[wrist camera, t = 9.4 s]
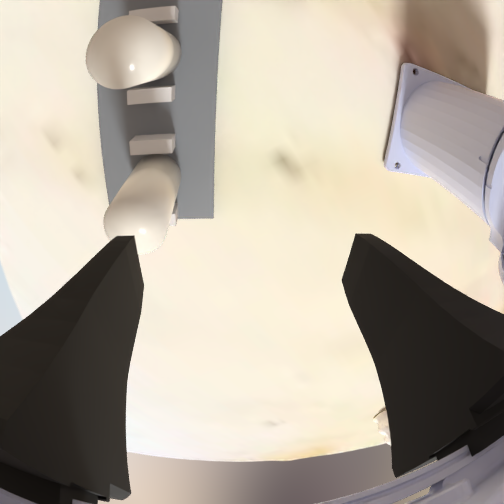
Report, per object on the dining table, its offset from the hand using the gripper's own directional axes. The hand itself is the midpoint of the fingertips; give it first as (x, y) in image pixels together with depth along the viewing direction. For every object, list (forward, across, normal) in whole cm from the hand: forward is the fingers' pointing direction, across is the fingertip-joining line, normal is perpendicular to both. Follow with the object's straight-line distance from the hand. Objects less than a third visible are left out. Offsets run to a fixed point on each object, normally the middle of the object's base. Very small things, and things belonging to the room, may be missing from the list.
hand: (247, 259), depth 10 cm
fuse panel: (+10, +4, -7) cm, 13 cm away
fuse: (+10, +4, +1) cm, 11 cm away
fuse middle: (+10, +4, -7) cm, 13 cm away
